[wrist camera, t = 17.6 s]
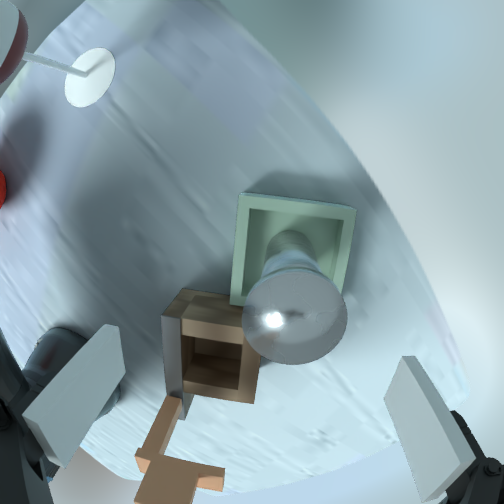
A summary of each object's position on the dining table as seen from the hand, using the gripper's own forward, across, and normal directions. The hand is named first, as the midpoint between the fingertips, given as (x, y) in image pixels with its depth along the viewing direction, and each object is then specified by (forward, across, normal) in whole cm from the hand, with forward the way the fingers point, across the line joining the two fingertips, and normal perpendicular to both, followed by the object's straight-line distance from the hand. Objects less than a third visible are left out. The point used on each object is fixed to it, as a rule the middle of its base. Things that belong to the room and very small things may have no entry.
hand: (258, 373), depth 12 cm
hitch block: (+17, -4, -11) cm, 21 cm away
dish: (+17, +2, +1) cm, 17 cm away
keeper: (+11, -5, -15) cm, 19 cm away
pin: (+16, +2, +1) cm, 16 cm away
